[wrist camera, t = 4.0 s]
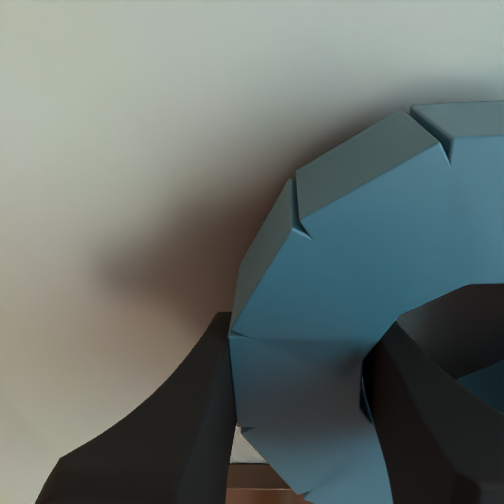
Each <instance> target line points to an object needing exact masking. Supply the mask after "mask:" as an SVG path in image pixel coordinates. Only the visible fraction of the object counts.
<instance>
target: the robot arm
mask: <svg viewBox="0 0 504 504" xmlns="http://www.w3.org/2000/svg"><path fill="white" fill-rule="evenodd" d="M231 314H232V312H218V313H217V314H216V315H215V316H214V318H213V320H212V321H211V323H210V325H209V326H208V328H207V329H206V331H205V332H204V334H203V335H202V337H201V338H200V339H199V341H198V342H197V344H196V345H195V346H194V348H193V349H192V350H191V352H190V353H189V354H188V356H187V357H186V358H185V359H184V360H183V362H182V363H181V364H180V365H179V366H178V367H177V369H176V370H175V371H174V372H173V373H172V374H171V376H170V377H169V378H168V379H167V380H166V381H165V382H164V383H163V384H162V385H161V386H160V387H159V388H158V389H157V390H156V391H155V392H154V393H153V394H152V395H151V396H150V397H149V398H147V399H146V400H145V401H144V402H143V403H142V404H141V405H139V406H138V407H137V408H136V409H135V410H133V411H132V412H131V413H130V414H128V415H127V416H126V417H125V418H123V419H122V420H120V421H119V422H118V423H116V424H115V425H114V426H112V427H111V428H109V429H108V430H106V431H105V432H103V433H102V434H100V435H99V436H97V437H96V438H94V439H92V440H91V441H89V442H87V443H86V444H84V445H82V446H80V447H79V448H77V449H75V450H73V451H72V452H70V453H68V454H67V455H65V456H63V457H61V458H60V459H59V461H58V462H57V464H56V466H55V467H54V469H53V470H52V472H51V473H50V475H49V477H48V479H47V480H46V482H45V484H44V486H43V488H42V490H41V492H40V494H39V496H38V498H37V500H36V502H35V504H225V503H226V490H227V477H228V469H229V462H230V456H231V450H232V445H233V439H234V434H235V428H236V412H235V403H234V393H233V384H232V375H231V365H230V356H229V346H228V332H229V326H230V320H231ZM362 377H363V383H364V389H365V394H366V398H367V402H368V405H369V409H370V412H371V416H372V419H373V423H374V426H375V430H376V433H377V437H378V440H379V443H380V447H381V450H382V454H383V457H384V461H385V465H386V469H387V473H388V477H389V483H390V488H391V494H392V499H393V504H504V414H502V413H501V412H499V411H497V410H496V409H494V408H493V407H491V406H490V405H488V404H487V403H485V402H484V401H482V400H481V399H479V398H478V397H477V396H475V395H474V394H472V393H471V392H470V391H469V390H467V389H466V388H465V387H463V386H462V385H461V384H459V383H458V382H457V381H456V380H454V379H453V378H452V377H451V376H449V375H448V374H447V373H446V372H445V371H444V370H443V369H442V368H441V367H439V366H438V365H437V364H436V363H435V362H434V361H433V360H432V359H431V358H430V357H429V356H428V355H427V354H426V353H425V352H424V351H423V350H422V349H421V348H420V347H419V346H418V345H417V344H416V343H415V342H414V341H413V340H412V339H411V338H410V337H409V335H408V334H407V333H406V332H405V331H404V330H403V329H402V328H401V326H400V325H399V324H398V323H397V322H396V321H395V322H394V323H393V324H392V325H391V326H390V328H389V329H388V330H387V331H386V333H385V334H384V335H383V336H382V337H381V339H380V340H379V341H378V342H377V344H376V345H375V346H374V347H373V348H372V350H371V351H370V352H369V353H368V354H367V356H366V357H365V358H364V359H363V368H362Z"/></svg>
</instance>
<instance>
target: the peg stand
mask: <svg viewBox="0 0 504 504" xmlns="http://www.w3.org/2000/svg"><path fill="white" fill-rule="evenodd" d="M225 504H315V503H312V502H309V501H307V500H304V499H303V493H302V494H299V495H297V494H296V493H295V492H294V491H293V490H292V489H291V488H290V486H289V485H288V484H287V483H286V482H285V481H284V480H283V479H282V478H281V477H280V476H279V474H278V473H277V472H276V471H275V470H274V469H273V468H272V467H271V466H270V465H263V464H229V469H228V477H227V490H226V503H225Z"/></svg>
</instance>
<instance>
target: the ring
mask: <svg viewBox="0 0 504 504" xmlns="http://www.w3.org/2000/svg"><path fill="white" fill-rule="evenodd" d="M467 284H504V100H503V101H483V102H463V103H442V104H422V105H412V106H411V107H410V114H409V115H408V114H407V113H406V112H405V111H404V110H402V109H398V110H397V111H395V112H393V113H392V114H390V115H388V116H387V117H385V118H383V119H382V120H380V121H378V122H377V123H375V124H373V125H372V126H370V127H368V128H367V129H365V130H363V131H362V132H360V133H358V134H357V135H355V136H353V137H352V138H350V139H348V140H347V141H345V142H343V143H342V144H340V145H338V146H337V147H335V148H333V149H332V150H330V151H328V152H327V153H325V154H323V155H322V156H320V157H318V158H317V159H315V160H313V161H312V162H310V163H308V164H307V165H305V166H303V167H301V168H300V169H298V170H296V180H294V179H292V178H289V179H288V181H287V182H286V184H285V186H284V188H283V189H282V191H281V193H280V195H279V196H278V198H277V200H276V202H275V203H274V205H273V207H272V209H271V210H270V212H269V214H268V216H267V217H266V219H265V221H264V223H263V224H262V226H261V228H260V230H259V232H258V233H257V235H256V237H255V239H254V240H253V242H252V244H251V246H250V247H249V249H248V251H247V253H246V254H245V256H244V258H243V260H242V261H241V264H240V270H239V272H238V278H237V284H236V290H235V296H234V302H233V308H232V314H231V320H230V326H229V332H228V346H229V356H230V365H231V375H232V384H233V393H234V403H235V412H236V423H237V426H238V427H241V434H242V435H243V436H244V437H245V438H246V439H247V441H248V442H249V443H250V444H251V445H252V446H253V447H254V448H255V449H256V450H257V452H258V453H259V454H260V455H261V456H262V457H263V458H264V459H265V460H266V461H267V462H268V464H269V465H270V466H271V467H272V468H273V469H274V470H275V471H276V472H277V473H278V474H279V476H280V477H281V478H282V479H283V480H284V481H285V482H286V483H287V484H288V485H289V486H290V488H291V489H292V490H293V491H294V492H295V493H296V494H297V495H299V494H302V493H303V499H304V500H307V501H309V502H312V503H315V504H393V499H392V494H391V488H390V483H389V477H388V473H387V469H386V465H385V461H384V457H383V454H382V450H381V447H380V443H379V440H378V437H377V433H376V430H375V426H374V423H373V419H372V416H371V412H370V409H369V405H368V402H367V398H366V394H365V389H364V383H363V377H362V368H363V359H364V358H365V357H366V356H367V354H368V353H369V352H370V351H371V350H372V348H373V347H374V346H375V345H376V344H377V342H378V341H379V340H380V339H381V337H382V336H383V335H384V334H385V333H386V331H387V330H388V329H389V328H390V326H391V325H392V324H393V323H394V322H395V320H396V319H397V318H398V317H399V315H401V314H404V313H406V312H408V311H410V310H412V309H415V308H417V307H419V306H421V305H423V304H426V303H428V302H430V301H432V300H434V299H437V298H439V297H441V296H443V295H445V294H448V293H450V292H452V291H454V290H456V289H459V288H461V287H463V286H465V285H467ZM455 380H456V381H457V382H458V383H459V384H461V385H462V386H463V387H465V388H466V389H467V390H469V391H470V392H471V393H472V394H474V395H475V396H477V397H478V398H479V399H481V400H482V401H484V402H485V403H487V404H488V405H490V406H491V407H493V408H494V409H496V410H497V411H499V412H501V413H502V414H504V359H503V360H502V361H500V362H498V363H495V364H493V365H490V366H488V367H485V368H483V369H480V370H478V371H475V372H473V373H470V374H467V375H465V376H462V377H460V378H457V379H455Z"/></svg>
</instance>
